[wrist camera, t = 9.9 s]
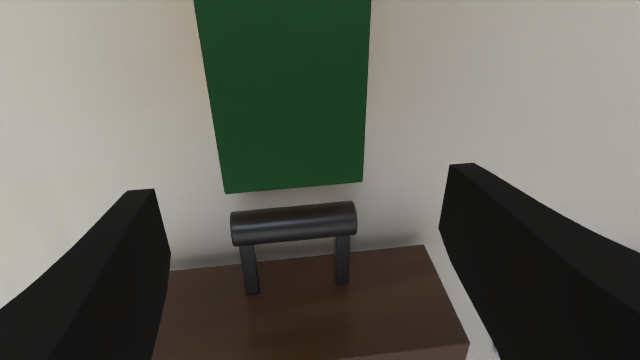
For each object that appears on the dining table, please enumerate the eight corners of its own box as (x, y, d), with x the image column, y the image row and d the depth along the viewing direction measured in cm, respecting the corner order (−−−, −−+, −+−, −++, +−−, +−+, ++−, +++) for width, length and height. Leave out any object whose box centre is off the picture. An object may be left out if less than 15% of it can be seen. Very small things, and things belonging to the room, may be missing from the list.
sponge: (204, -55, 15) (189, -24, 11) (339, -59, 16) (373, -31, 11) (229, 122, 19) (224, 195, 15) (337, 114, 19) (363, 182, 15)
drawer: (133, 198, 19) (97, 308, 14) (435, 171, 20) (492, 264, 16) (197, 409, 28) (188, 519, 24) (402, 382, 30) (432, 480, 25)
